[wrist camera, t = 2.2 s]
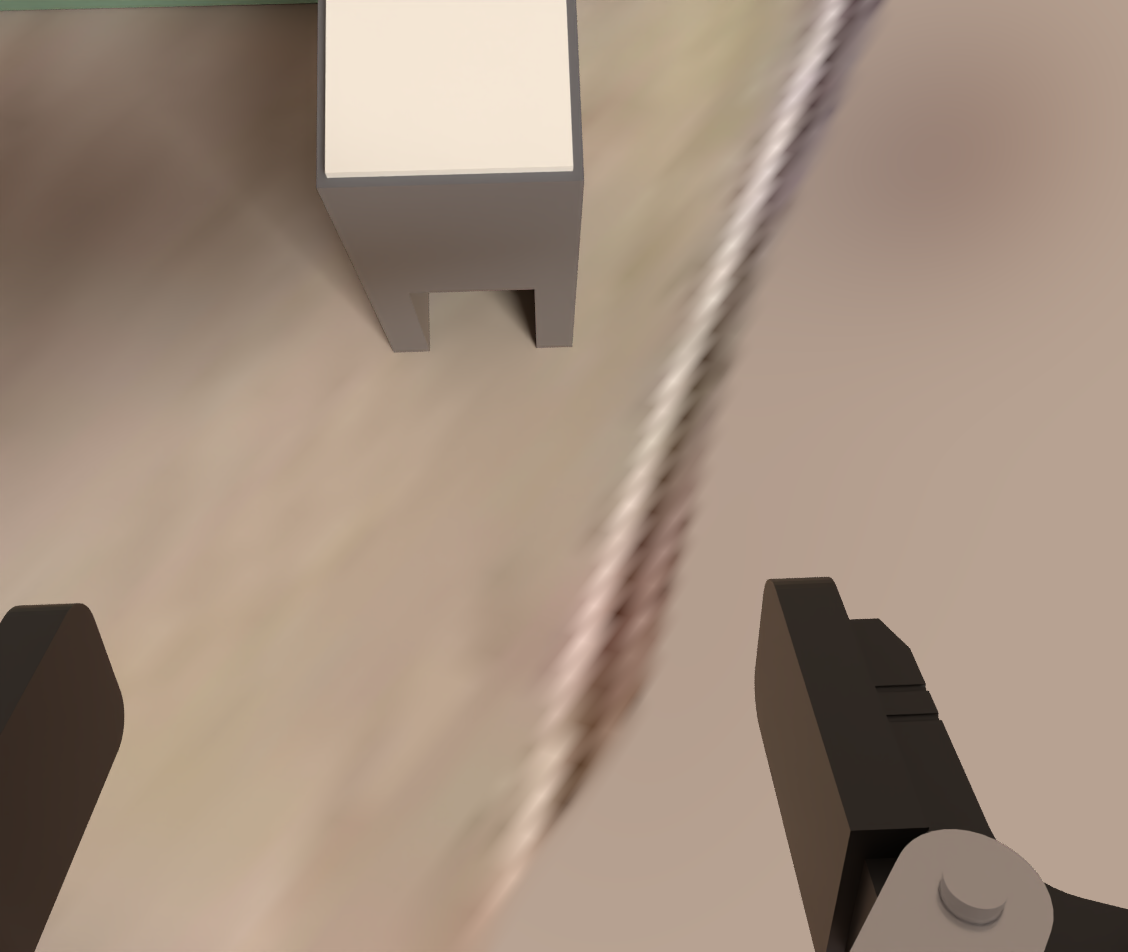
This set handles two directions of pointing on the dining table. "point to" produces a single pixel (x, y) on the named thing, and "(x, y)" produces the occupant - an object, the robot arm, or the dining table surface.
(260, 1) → the board
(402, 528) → the dining table surface
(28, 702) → the robot arm
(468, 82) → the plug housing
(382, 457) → the dining table surface
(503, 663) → the dining table surface
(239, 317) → the dining table surface
